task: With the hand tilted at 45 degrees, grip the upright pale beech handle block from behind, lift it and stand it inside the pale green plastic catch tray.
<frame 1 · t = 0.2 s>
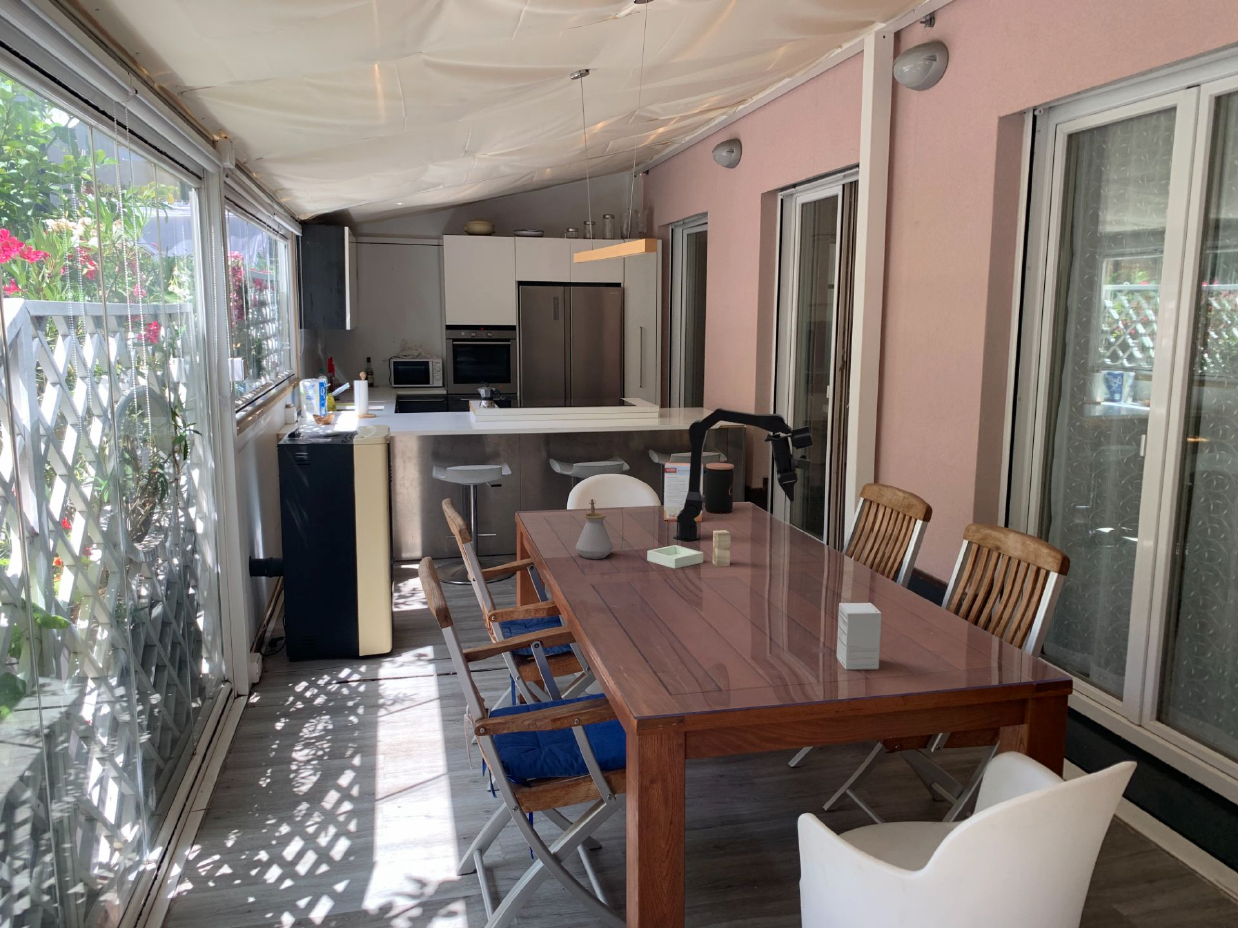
hand: (791, 498, 306), 15 cm above the table, tool pointing down, fingers open, 9 cm apart
catch tray: (675, 561, 285), on the table
coffee jar: (718, 511, 361), on the table
handle block: (720, 564, 283), on the table
cracker box: (682, 520, 344), on the table
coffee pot: (593, 552, 295), on the table
supplement box: (856, 664, 203), on the table
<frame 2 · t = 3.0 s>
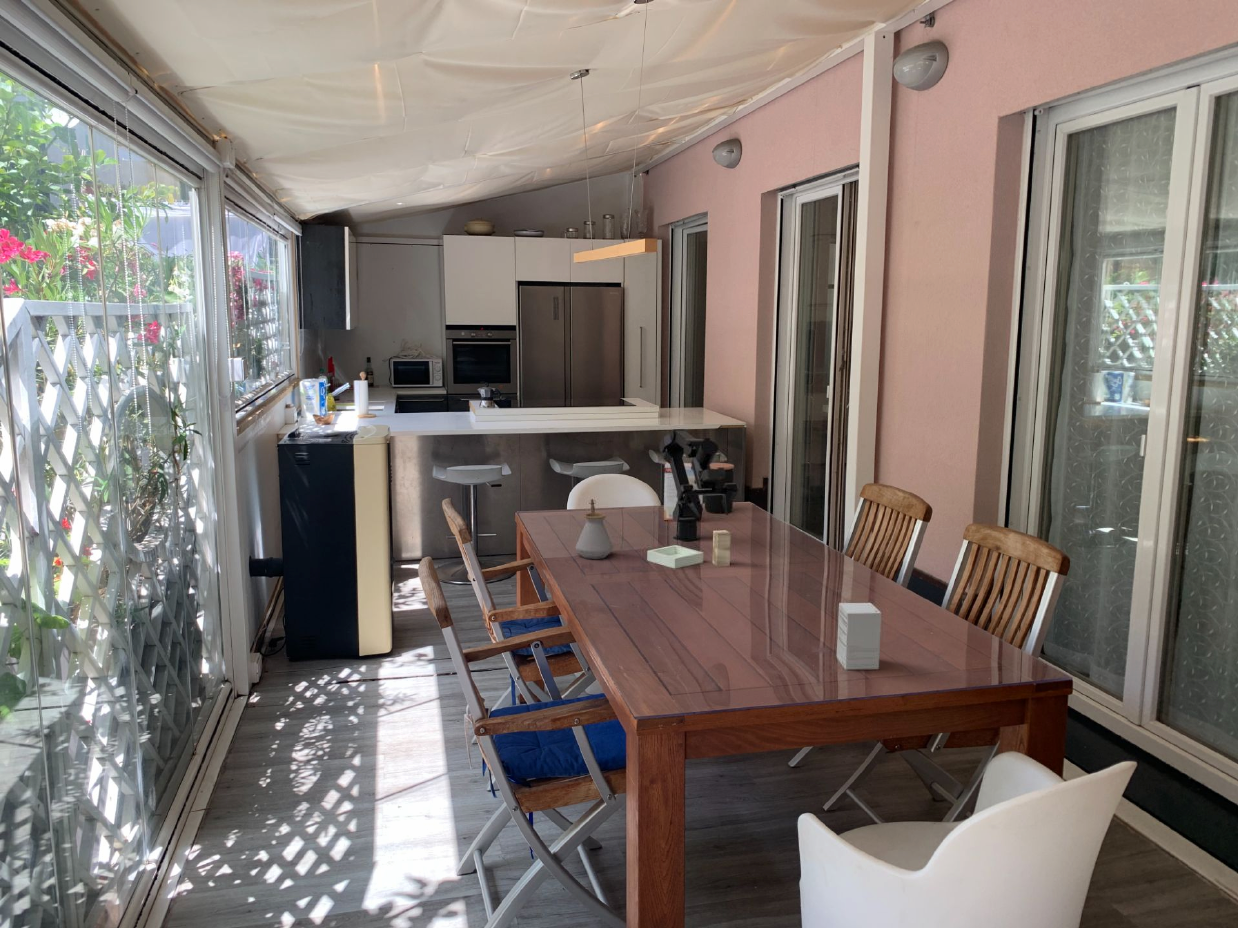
hand: (713, 514, 288), 13 cm above the table, tool tilted 45°, fingers open, 9 cm apart
nothing on the table moved.
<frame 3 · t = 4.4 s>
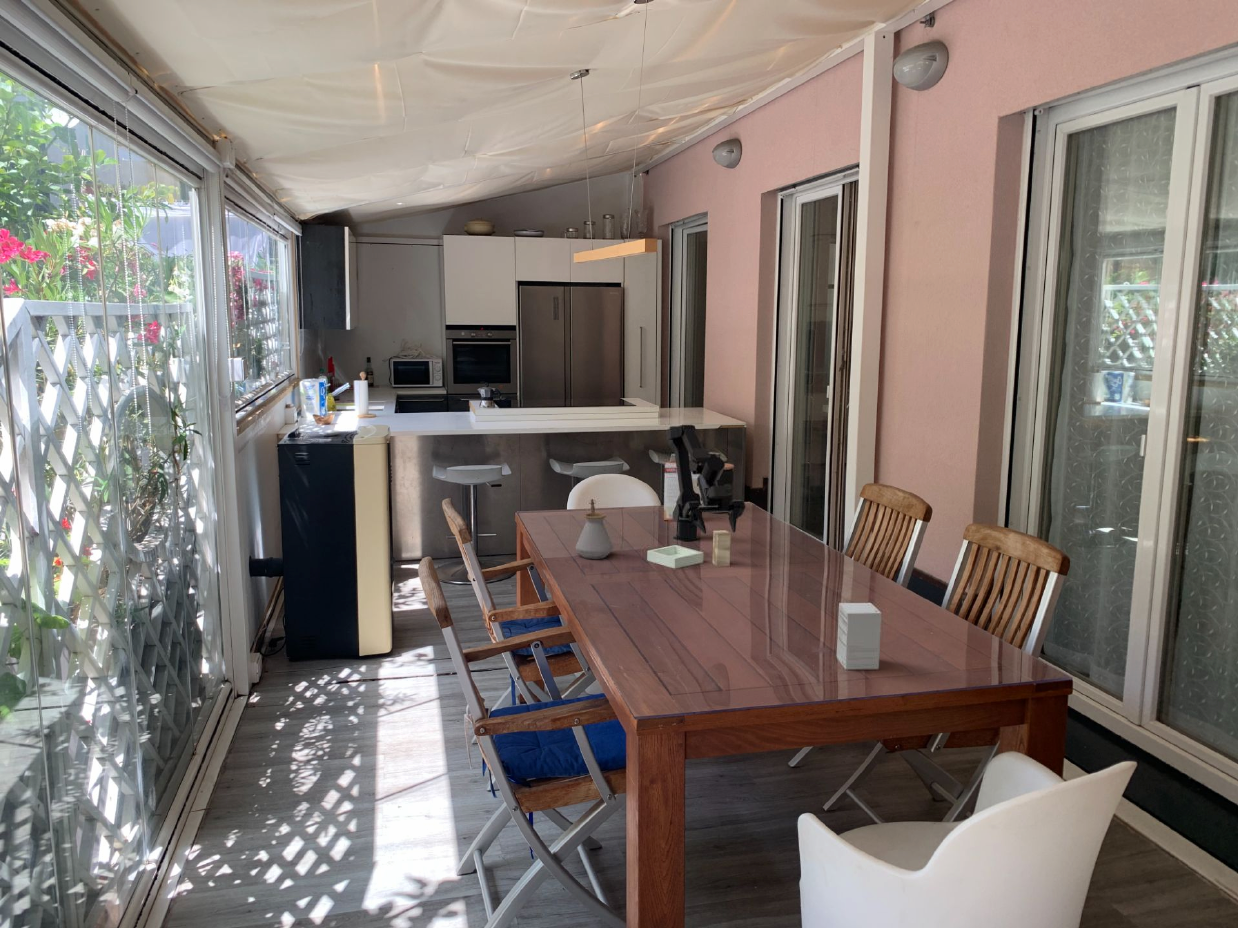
hand: (720, 532, 283), 9 cm above the table, tool tilted 45°, fingers open, 9 cm apart
nothing on the table moved.
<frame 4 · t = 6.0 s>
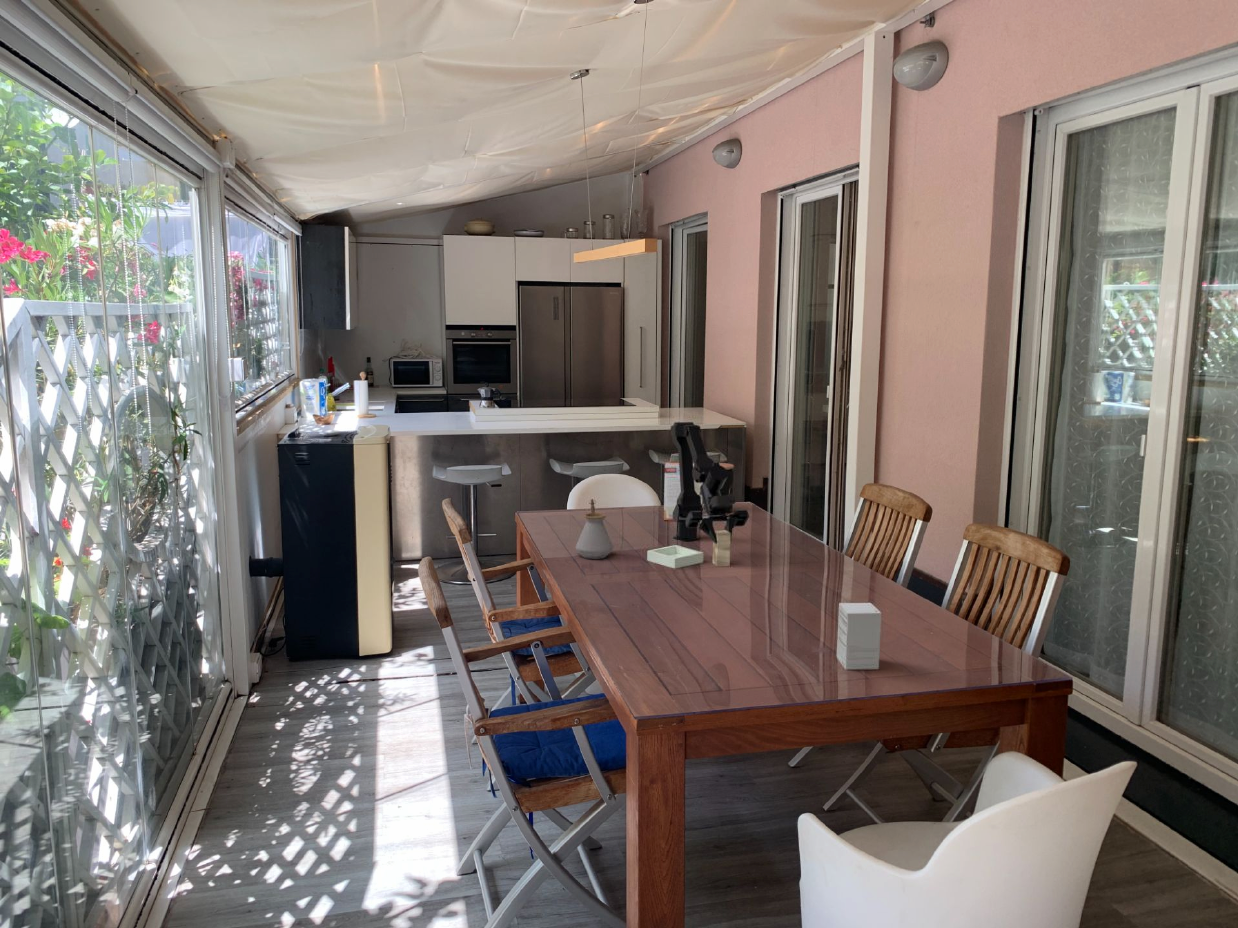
hand: (723, 542, 280), 7 cm above the table, tool tilted 45°, fingers closed on handle block, 4 cm apart
handle block: (720, 564, 283), on the table, touching gripper
everything else where it was.
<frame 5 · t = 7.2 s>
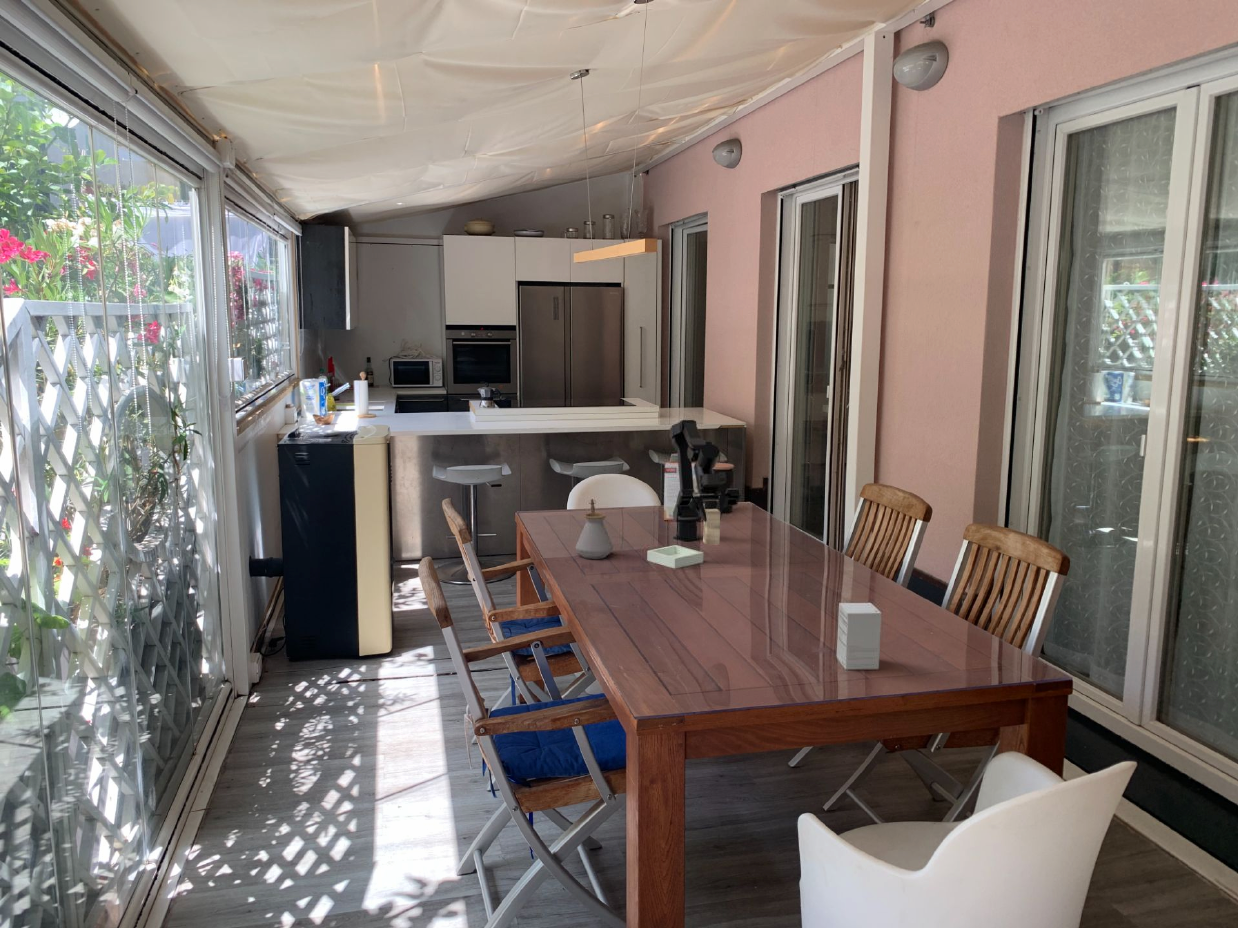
hand: (712, 520, 280), 13 cm above the table, tool tilted 45°, fingers closed on handle block, 4 cm apart
handle block: (711, 543, 283), point 6 cm above the table, touching gripper
everything else where it was.
when the fingers open (9 cm above the table, at t = 8.9 s): handle block drops 2 cm, resting on catch tray.
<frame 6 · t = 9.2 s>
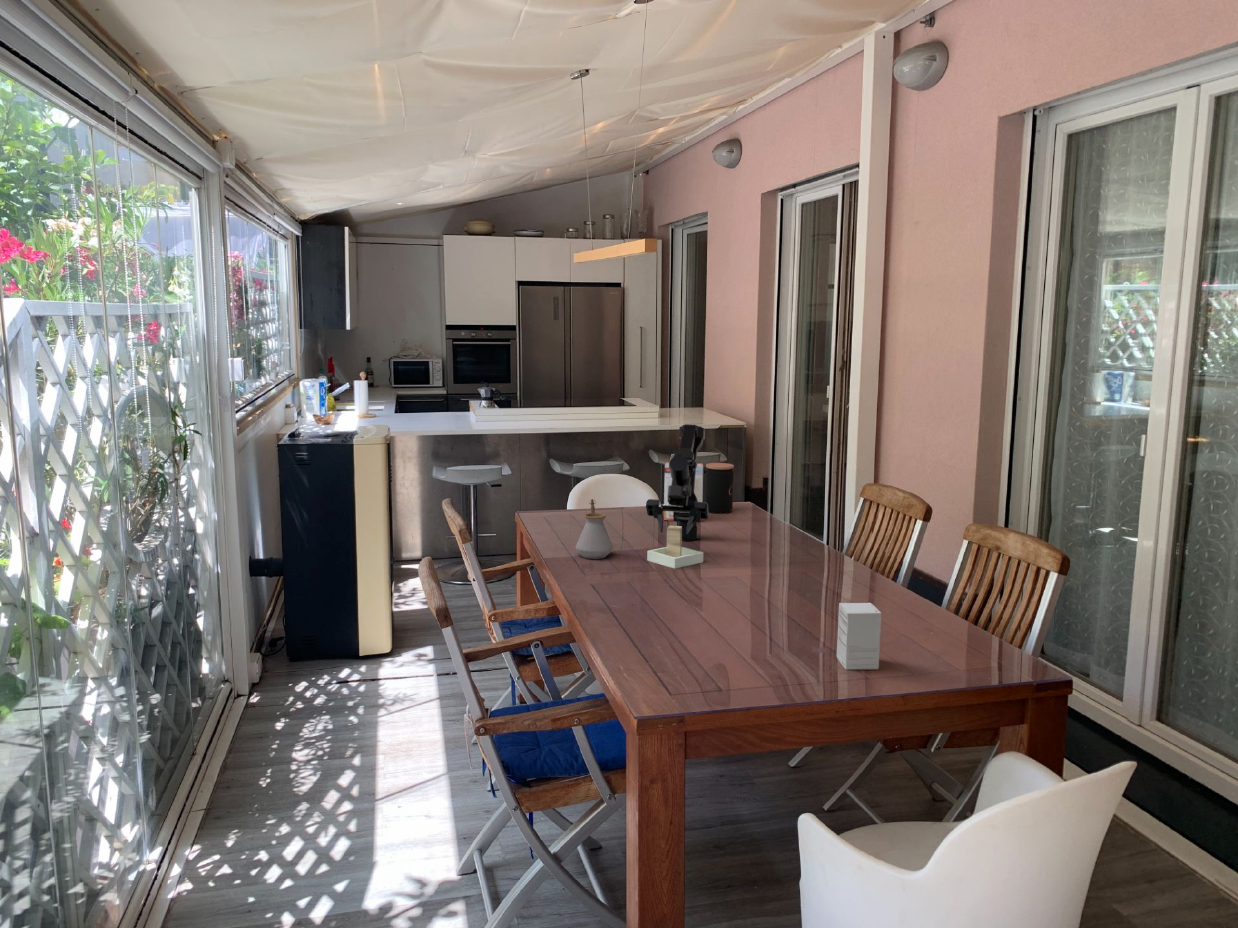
hand: (674, 532, 282), 9 cm above the table, tool tilted 45°, fingers open, 7 cm apart
handle block: (674, 559, 285), point 1 cm above the table, touching catch tray
everything else where it was.
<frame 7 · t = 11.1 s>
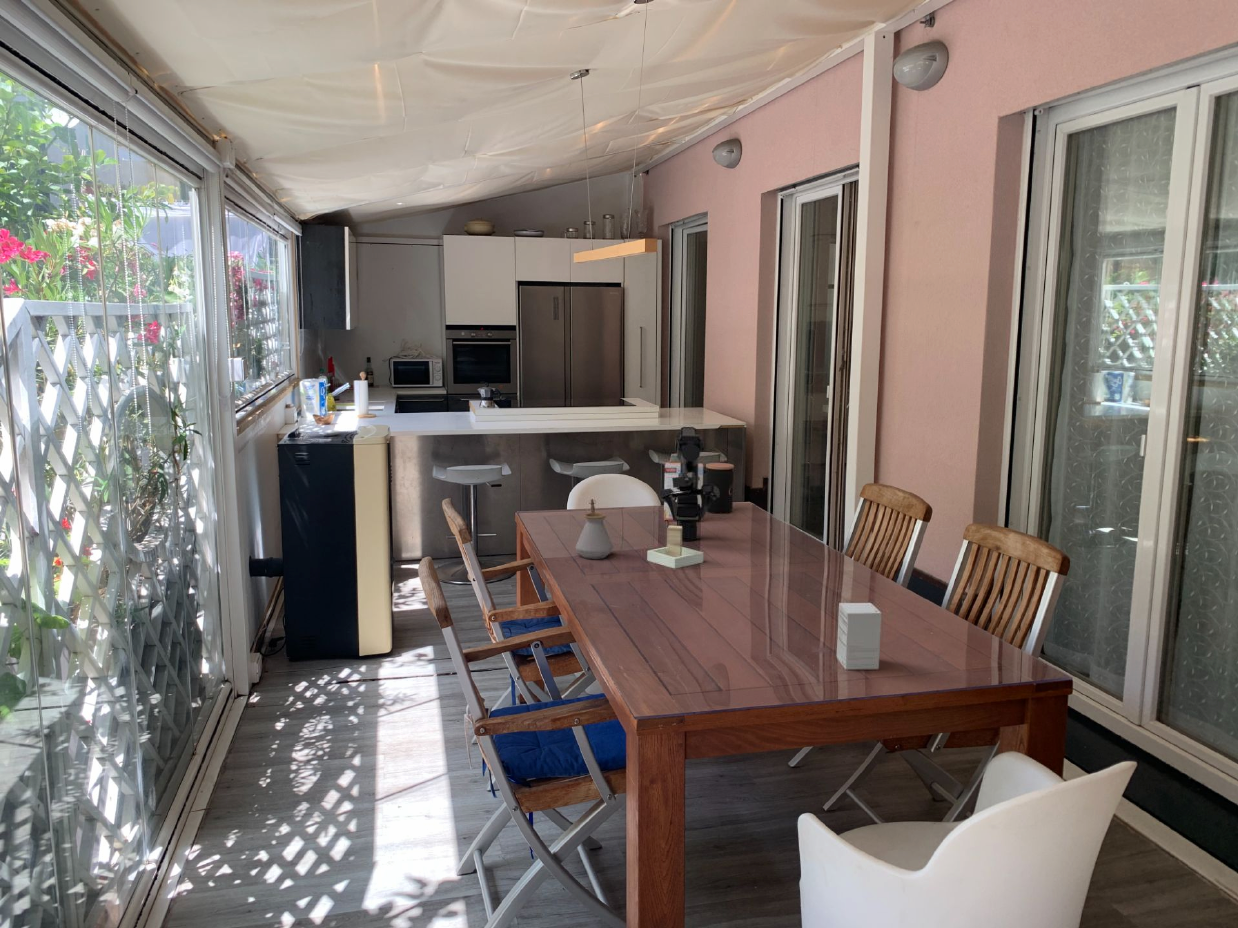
hand: (688, 519, 293), 11 cm above the table, tool tilted 30°, fingers open, 9 cm apart
nothing on the table moved.
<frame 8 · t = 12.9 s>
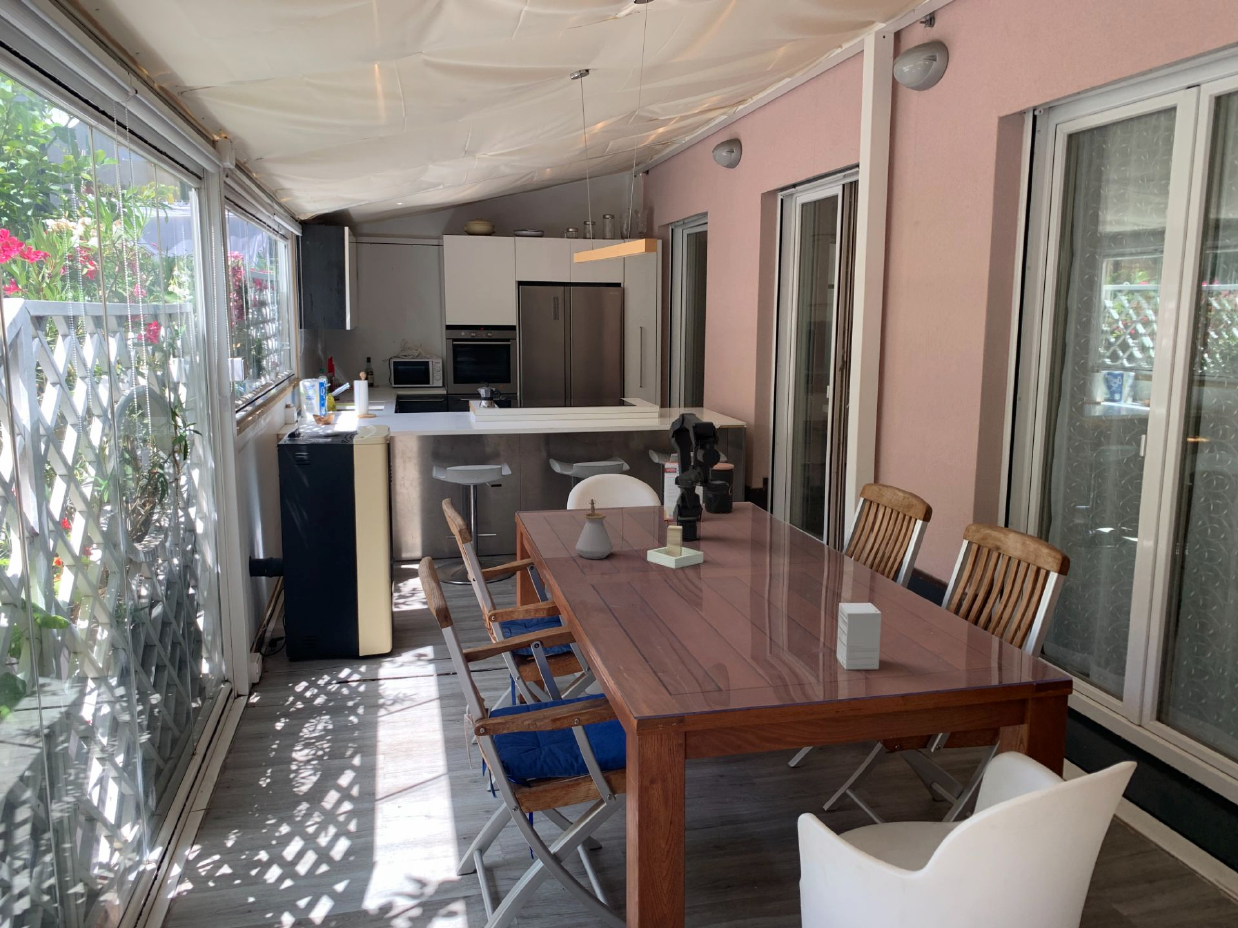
hand: (700, 510, 297), 13 cm above the table, tool pointing down, fingers open, 9 cm apart
nothing on the table moved.
at the end: handle block inside the target area on the catch tray (0.5 cm from its centre), point 0.6 cm above the catch tray's base; handle block tilted 0°; the gripper is holding nothing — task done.
